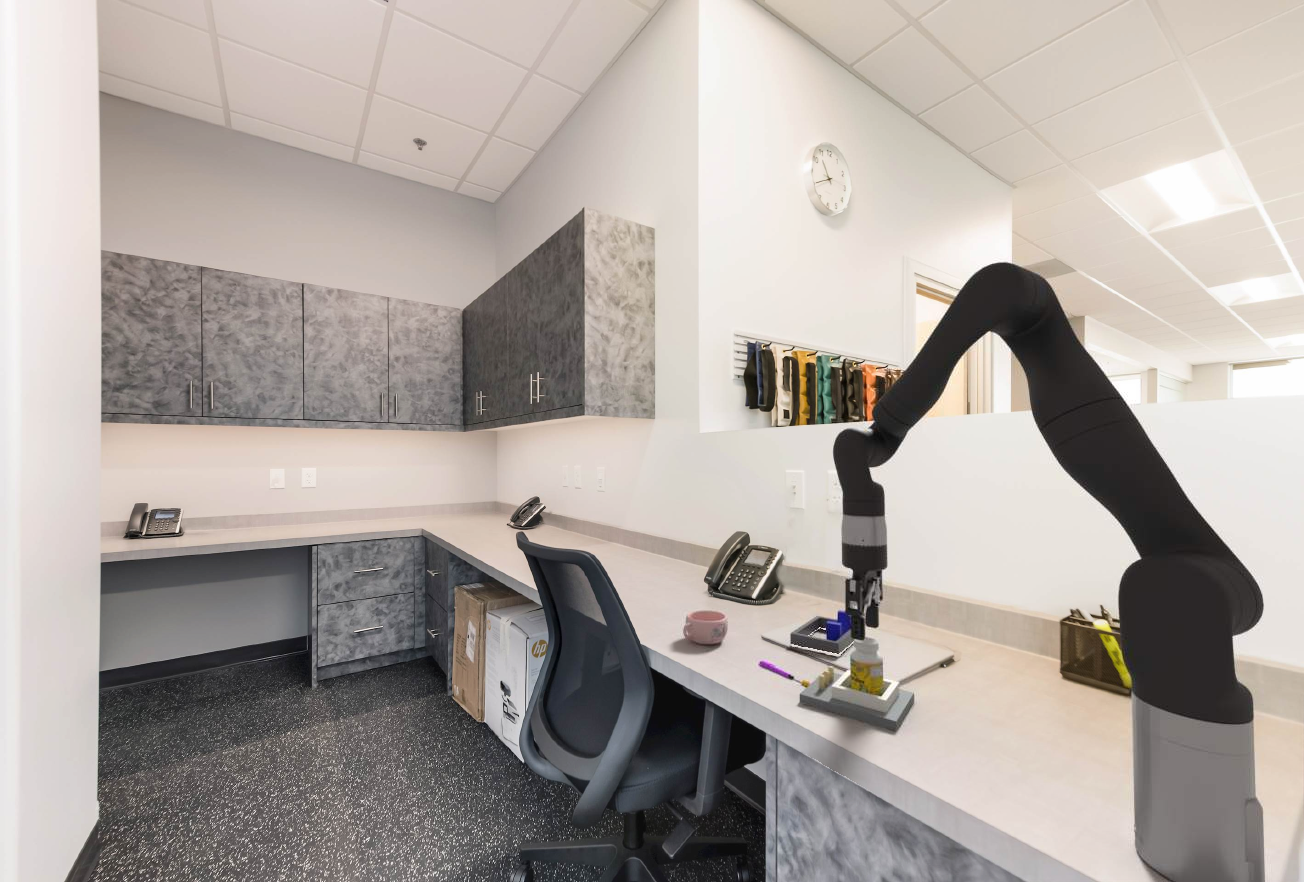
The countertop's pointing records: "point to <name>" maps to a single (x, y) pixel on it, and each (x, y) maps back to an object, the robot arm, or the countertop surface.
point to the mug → (706, 626)
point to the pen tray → (804, 640)
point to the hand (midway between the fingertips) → (865, 633)
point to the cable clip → (838, 626)
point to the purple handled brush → (781, 672)
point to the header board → (858, 699)
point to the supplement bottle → (866, 667)
